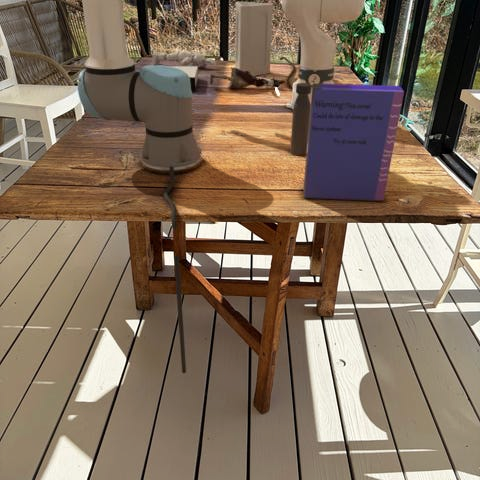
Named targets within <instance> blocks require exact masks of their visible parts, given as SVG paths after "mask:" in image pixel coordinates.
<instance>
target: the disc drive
mask: <svg viewBox="0 0 480 480" xmlns="http://www.w3.org/2000/svg"><path fill="white" fill-rule="evenodd" d="M168 66H169V67H174V68H177V69H180V70H182V71H184V72H185V73H187V74H188V76H189V78H190V83H191V91H192V92H193V91H195V92H196V90H197V88H196V87H197V83H198V79H199V67H198V66H190V65H184V66H180V65H178V66H177V65H176V66H174V65H173V66H171V65H168Z"/></svg>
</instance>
